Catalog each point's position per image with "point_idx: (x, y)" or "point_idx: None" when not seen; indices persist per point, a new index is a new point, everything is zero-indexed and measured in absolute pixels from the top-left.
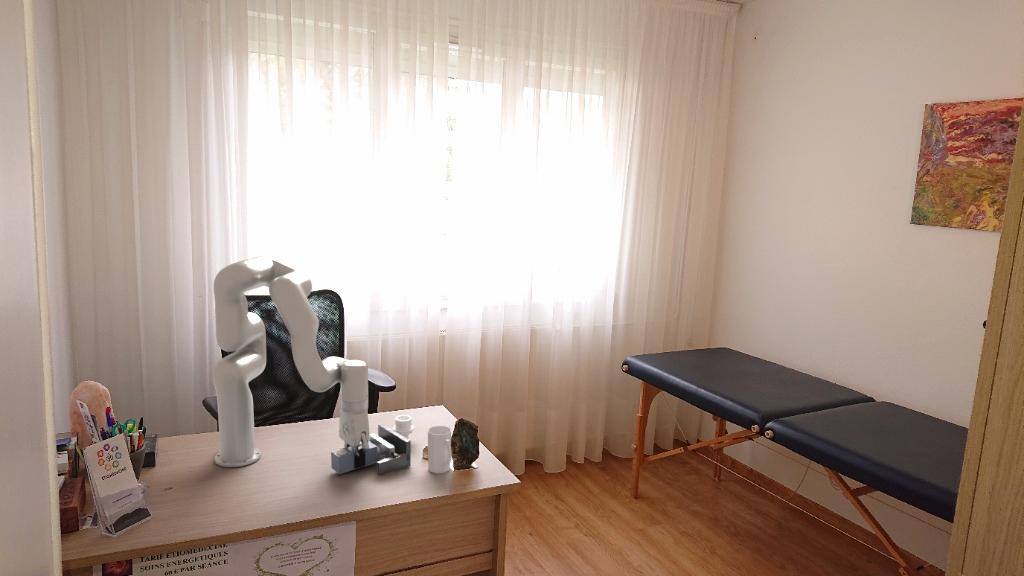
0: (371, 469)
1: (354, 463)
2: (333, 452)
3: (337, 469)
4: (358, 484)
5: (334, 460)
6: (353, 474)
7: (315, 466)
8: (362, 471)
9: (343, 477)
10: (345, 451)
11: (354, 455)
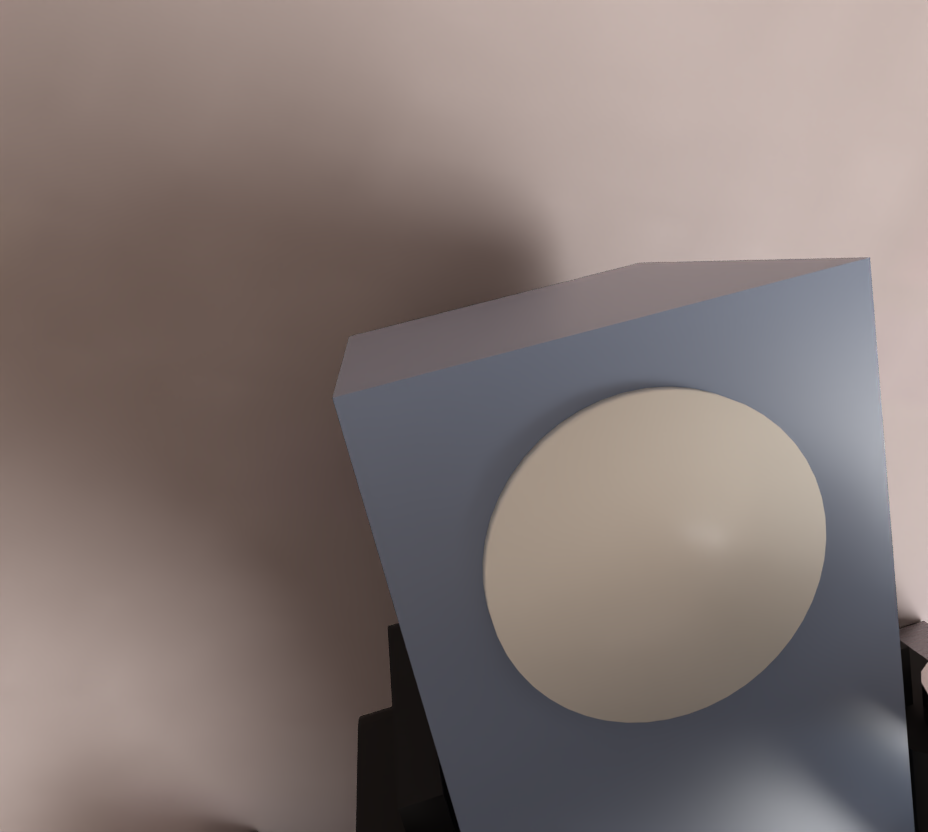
0: None
1: None
2: (771, 312)
3: (417, 325)
4: (38, 558)
5: (579, 301)
6: None
7: (909, 70)
8: None
9: None
10: (635, 656)
11: (437, 798)
